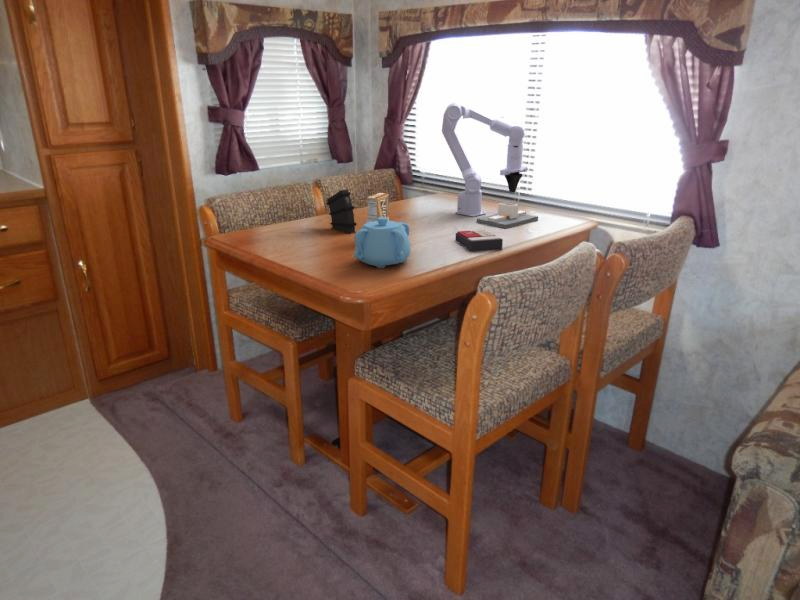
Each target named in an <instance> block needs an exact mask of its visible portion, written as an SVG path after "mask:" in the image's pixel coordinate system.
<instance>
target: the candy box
mask: <svg viewBox="0 0 800 600" xmlns="http://www.w3.org/2000/svg"><path fill="white" fill-rule="evenodd" d="M366 199H367V203H366V204H367V222H369V221H371V222H375V221H377V218H379V217H386V218H388V221H390V217H389V216H390V194H389V193H385V192H378V193H375V194H373V195H369V196H367V198H366Z"/></svg>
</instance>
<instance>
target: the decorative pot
mask: <svg viewBox="0 0 800 600" xmlns="http://www.w3.org/2000/svg"><path fill="white" fill-rule="evenodd" d="M409 235H410V226H409V225H408V224H407V223H406V222H404V221H403V222H402V221H399V222H397V221H393V220H389V221H388V218H386V217H379V218H377V221H375V222H371V221H369V222H368V221H365V223H364V224H363V225H362V227H361V228H360V229H359V230H357V231H355V233H354V239H353V240H354V243H355V251H354V252H353V257H354V258H355V259H356V260H359V261H360V262H362V263H364V264H367V265H371V266H375V268H377V269H384V268H386V266H391V265H399V264H398V263H402V264H403V262H405V261H407V260H408V258H409V257H410V255H411V251H412V249H411V242H410V239H409ZM383 267H384V268H383Z"/></svg>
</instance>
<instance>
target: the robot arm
mask: <svg viewBox="0 0 800 600" xmlns="http://www.w3.org/2000/svg"><path fill="white" fill-rule="evenodd" d="M442 117H443V118H442V126H441V132H442V135H443V137H444V139H445V142H446V143H447V145H448V148H449V149H450V152H451V153H452V156H453V158H454V160H455V162H456V164H457V166H458V168H459V170H460V173H461V175H462V178H463V180H464V187H465V189H464V190H462V191H460V192H459V193H458V195H457V211H456V212H455V214H458V215H464V216H468V217H479V216H482V215H486V212H484V211H482V202H483V201H482V196H483V191H482V189H481V188H482V178H481V177H480V175H478V174H477V173H476V171H475V169H474V168H473V166H472V164H471V162H470V160H469V158H468V156H467V154H466V152H465V150H464V147H463V144H462V143H461V141H460V139H459V137H458V134H457V132H456V131H455V130H456V127H457V125H458V122H459V120H460V119H461V117H462V119H473V120H476V121H477V122H479V123H483V124H486V125H487V126H489V128H490V131H492V132H495V133H497V134H499V135H501V136H503V137H509V138H508V144H507V153H506V154H507V155H506V167H505V168H503V169H500V171H499V175H500V176H504V177H505V179H506V181H507V185H508V191H509V192H510V193H516V191H517V189H518V188H517V187H518V185H519V182H520V181H521V179H522V178H523V173H527V170H528V167H527V166H523V165H522V162H523V148H524V145H523V143H524V140H523V139H524V137H525V135H526V134H525V130H524V128H523V127H522V126H521V125H519V124H518V123H516V122H515V121H510V120H508V119H506V118H505V117H504V116H503V115H500V116H499V115H496V116H493V117H492V116H490V115H487V114H485V113H483V112H482V111H479V110H478V109H475V108H473V107H471V106H467V105H465V104H460V103H458V102H453V103H450V104H449V105H448V106H447V107H446V108H445V110H444V113H443V116H442ZM515 123H516V124H515Z"/></svg>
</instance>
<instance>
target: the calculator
mask: <svg viewBox="0 0 800 600" xmlns="http://www.w3.org/2000/svg"><path fill="white" fill-rule="evenodd" d="M503 240H504V239H503V238H502V237H500V236H497V235H496V234H495V233H492V232H491V231H489V230H486V229H476V230H475V229H474V230H460V231H459V230H458V231H457V232H455V242H457V243H458V242H459V243H458V244H460V245H461V246H463V247H465V249H466V250H467V251H468V252H471V253H474V252H486V251H487V252H488V251H499V250H503Z"/></svg>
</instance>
